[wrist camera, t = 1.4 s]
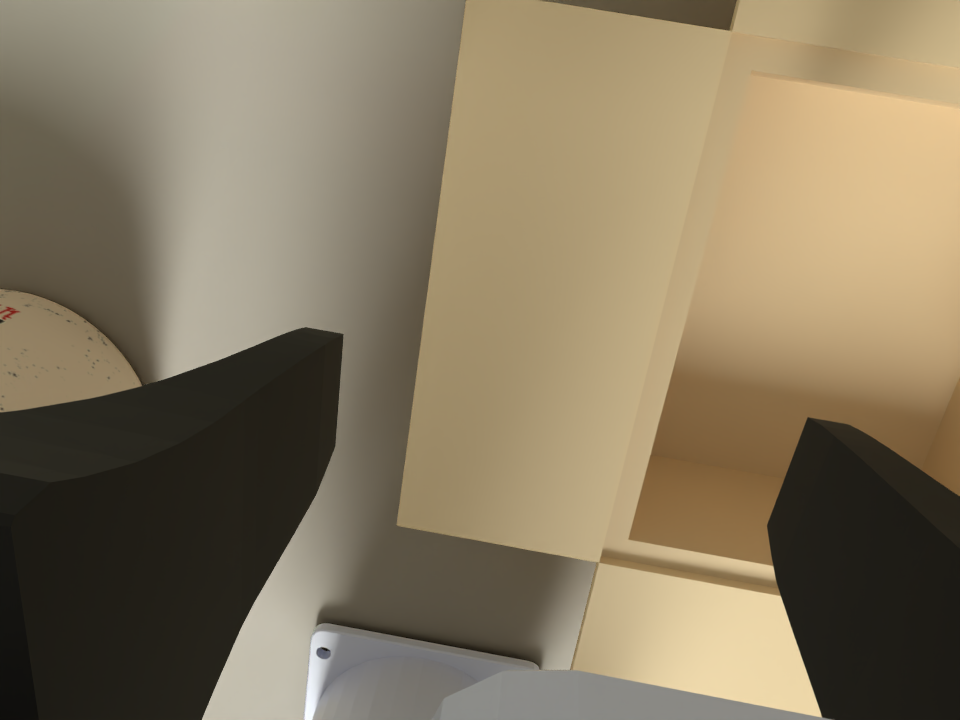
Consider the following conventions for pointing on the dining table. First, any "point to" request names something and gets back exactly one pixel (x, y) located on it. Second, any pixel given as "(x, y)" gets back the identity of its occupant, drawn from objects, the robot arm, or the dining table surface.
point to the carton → (685, 303)
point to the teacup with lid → (54, 355)
